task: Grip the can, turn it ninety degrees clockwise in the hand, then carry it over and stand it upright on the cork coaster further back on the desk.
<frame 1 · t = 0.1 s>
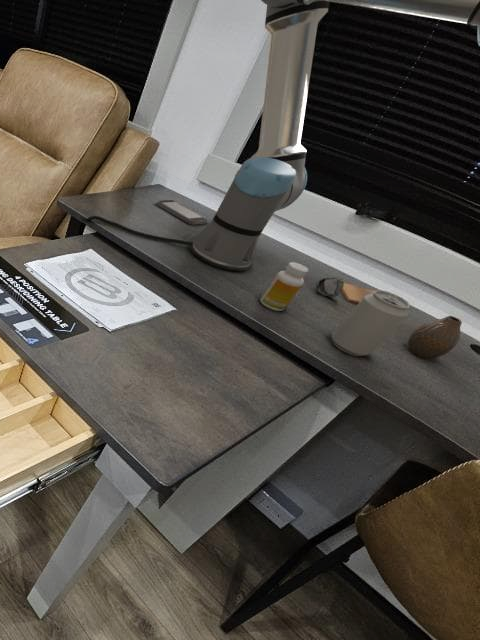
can: (347, 347, 94), on the table
supplement bottle: (271, 305, 103), on the table
coaster: (362, 297, 114), on the table
vase: (418, 353, 97), on the table
smartphone: (180, 214, 140), on the table
wristwatch: (321, 294, 112), on the table
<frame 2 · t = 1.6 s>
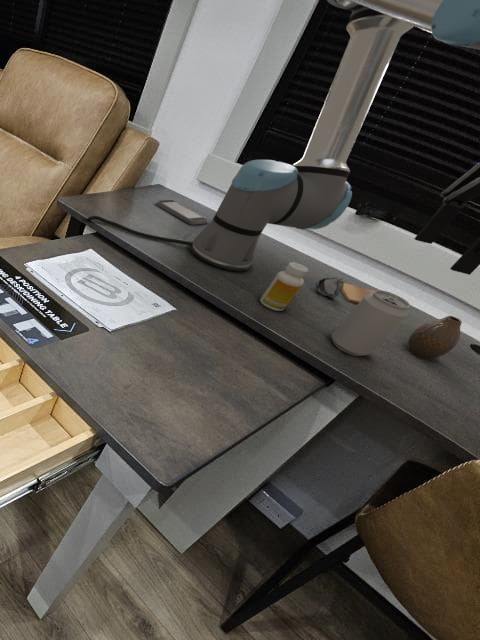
hand: (439, 255, 80), 21 cm above the table, tool pointing down, fingers open, 13 cm apart
nothing on the table moved.
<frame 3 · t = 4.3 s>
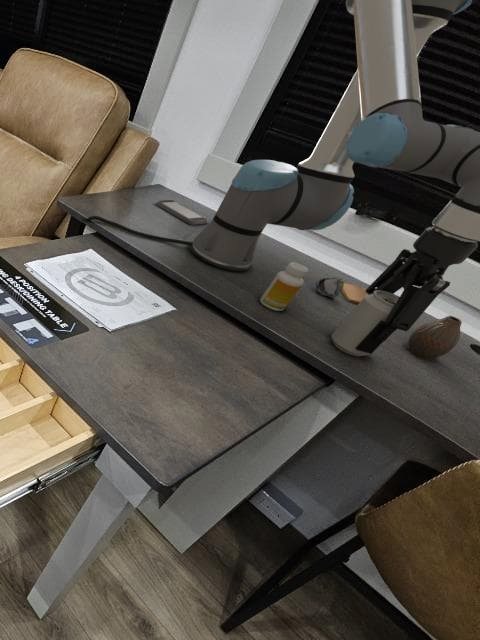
hand: (356, 339, 92), 2 cm above the table, tool pointing down, fingers closed on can, 7 cm apart
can: (347, 347, 94), on the table, touching gripper
everything else where it was.
when the fingers open (3 cm above the table, at t = 13.3 s): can stays where it is, resting on coaster.
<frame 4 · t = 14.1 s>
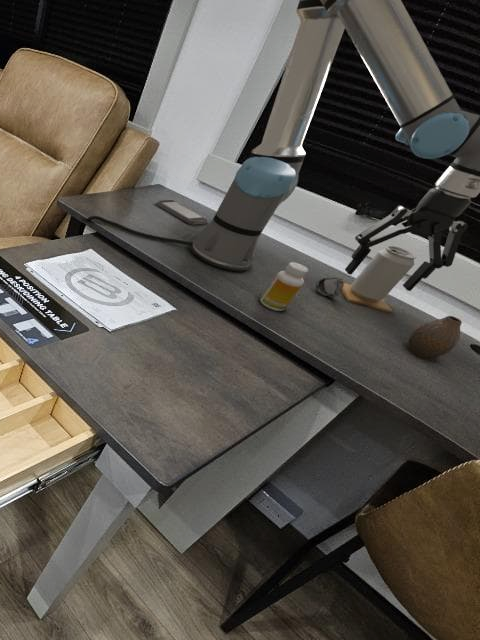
hand: (376, 280, 111), 5 cm above the table, tool pointing down, fingers open, 13 cm apart
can: (363, 295, 114), resting on coaster
everything else where it was.
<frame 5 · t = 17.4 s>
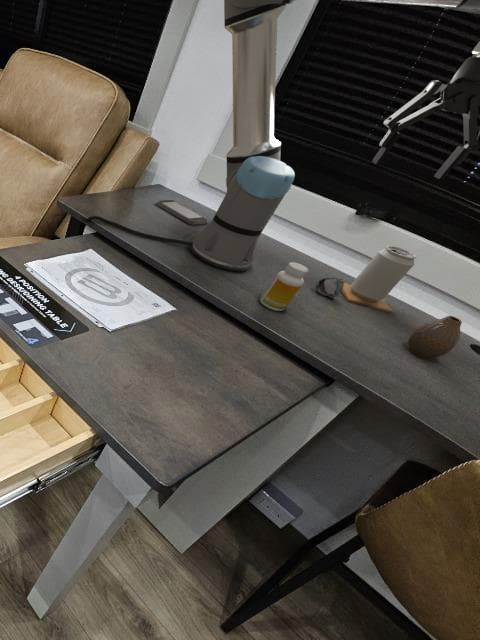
hand: (406, 170, 104), 27 cm above the table, tool pointing down, fingers open, 13 cm apart
nothing on the table moved.
at the end: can 0.3 cm off-centre on the coaster, point 0.4 cm above the coaster's base; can tilted 0°; the gripper is holding nothing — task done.
